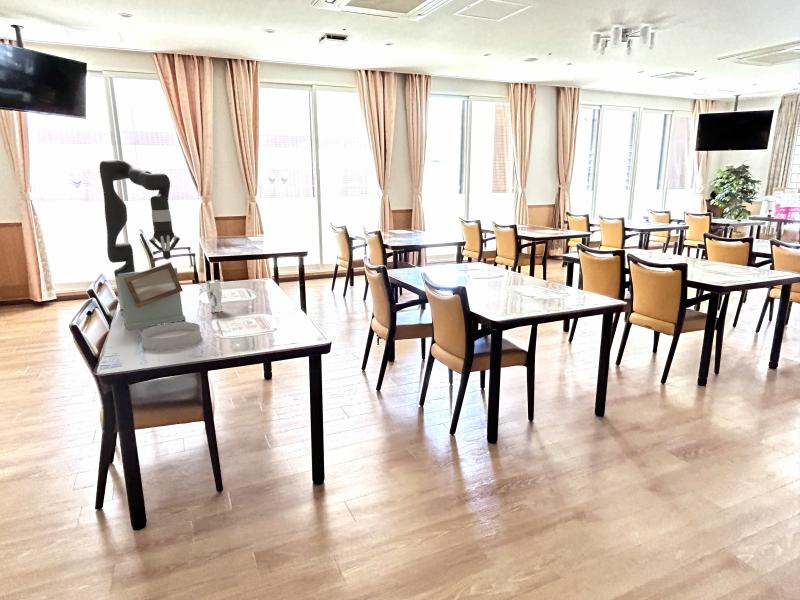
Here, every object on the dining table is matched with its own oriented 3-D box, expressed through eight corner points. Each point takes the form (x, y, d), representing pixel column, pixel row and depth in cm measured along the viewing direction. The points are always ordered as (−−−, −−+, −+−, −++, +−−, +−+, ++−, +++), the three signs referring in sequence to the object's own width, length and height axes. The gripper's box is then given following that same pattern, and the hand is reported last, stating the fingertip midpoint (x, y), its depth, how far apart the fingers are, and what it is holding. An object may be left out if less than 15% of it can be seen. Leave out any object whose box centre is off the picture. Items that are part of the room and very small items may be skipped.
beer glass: (208, 313, 248) (204, 283, 244) (209, 310, 254) (206, 280, 251) (223, 312, 249) (220, 282, 246) (224, 308, 256) (221, 279, 252)
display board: (124, 323, 234) (116, 272, 228) (180, 315, 247) (173, 265, 241) (127, 330, 224) (119, 276, 218) (185, 320, 237) (179, 269, 231)
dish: (134, 342, 208) (132, 330, 207) (188, 330, 223) (186, 319, 222) (154, 354, 192) (152, 342, 191) (210, 340, 207) (209, 329, 206)
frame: (137, 307, 227) (123, 278, 222) (181, 290, 236) (170, 261, 231) (137, 307, 225) (124, 278, 220) (182, 290, 235) (171, 262, 230)
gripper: (176, 218, 232) (181, 256, 236) (144, 220, 225) (149, 259, 229) (179, 219, 226) (184, 258, 230) (146, 221, 219) (152, 261, 223)
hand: (167, 259), depth 229 cm, fingers closed
